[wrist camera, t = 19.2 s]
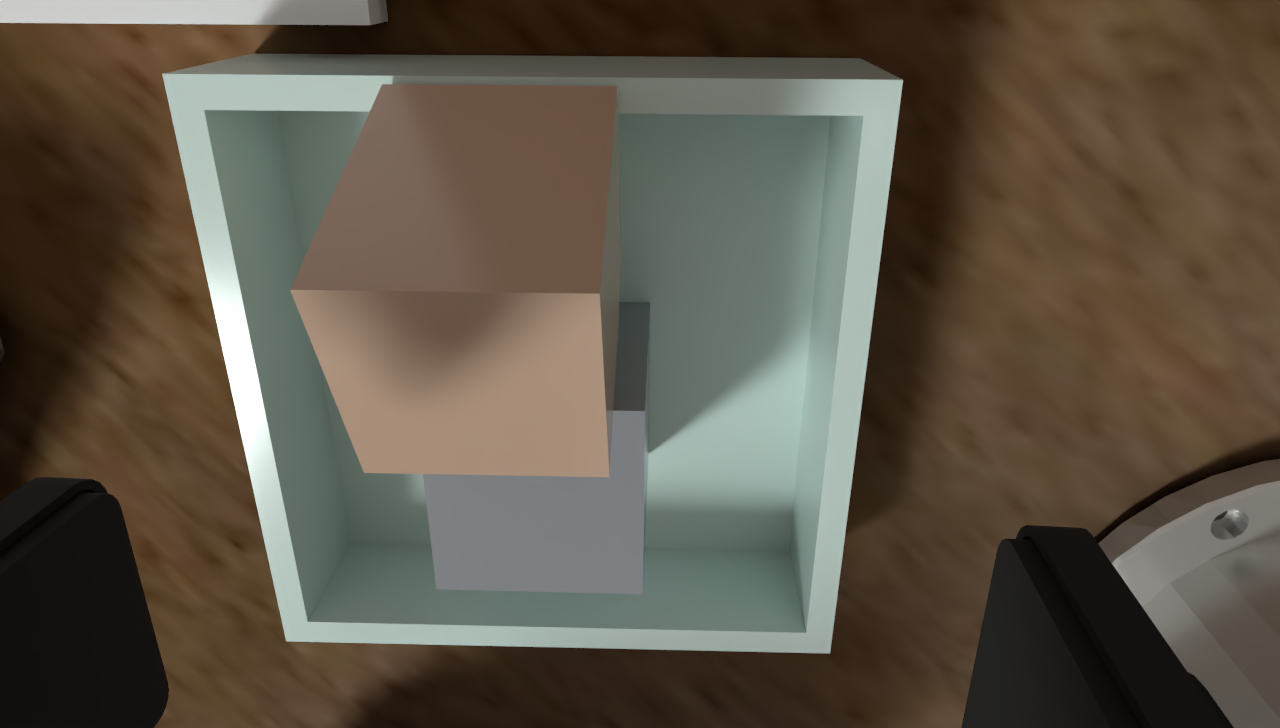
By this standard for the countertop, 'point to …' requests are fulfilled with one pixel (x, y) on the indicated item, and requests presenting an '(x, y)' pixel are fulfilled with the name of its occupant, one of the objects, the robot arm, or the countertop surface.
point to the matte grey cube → (556, 505)
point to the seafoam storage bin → (651, 272)
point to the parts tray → (196, 12)
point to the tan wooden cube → (473, 281)
